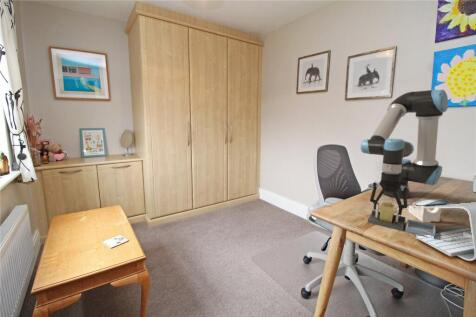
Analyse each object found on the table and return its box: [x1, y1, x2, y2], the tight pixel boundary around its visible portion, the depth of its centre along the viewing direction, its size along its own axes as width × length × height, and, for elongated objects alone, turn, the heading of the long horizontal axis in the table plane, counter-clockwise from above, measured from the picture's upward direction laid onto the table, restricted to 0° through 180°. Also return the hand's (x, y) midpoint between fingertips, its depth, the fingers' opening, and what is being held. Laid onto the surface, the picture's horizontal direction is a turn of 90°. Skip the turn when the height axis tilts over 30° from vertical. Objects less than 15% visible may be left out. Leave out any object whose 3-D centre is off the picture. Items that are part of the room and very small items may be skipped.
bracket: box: [408, 205, 442, 223], centre depth 118 cm, size 13×7×8 cm, turn 169°
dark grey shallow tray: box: [367, 209, 406, 232], centre depth 112 cm, size 10×14×3 cm
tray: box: [405, 219, 436, 237], centre depth 104 cm, size 10×10×2 cm
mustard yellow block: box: [379, 202, 396, 224], centre depth 112 cm, size 5×5×10 cm
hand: (386, 218), depth 112 cm, fingers open, 8 cm apart
